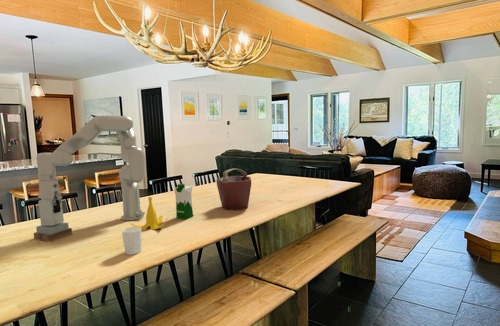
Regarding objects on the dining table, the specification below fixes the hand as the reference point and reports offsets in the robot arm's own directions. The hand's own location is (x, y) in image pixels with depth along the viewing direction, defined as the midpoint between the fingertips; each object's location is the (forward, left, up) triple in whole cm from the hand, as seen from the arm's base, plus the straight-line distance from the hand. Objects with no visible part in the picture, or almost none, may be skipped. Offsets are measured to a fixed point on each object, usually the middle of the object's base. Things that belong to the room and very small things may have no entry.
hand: (51, 211), depth 168 cm
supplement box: (0, 0, -6) cm, 6 cm away
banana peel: (-36, -28, -13) cm, 47 cm away
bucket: (-61, -82, -13) cm, 103 cm away
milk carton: (-44, -51, -13) cm, 68 cm away
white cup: (-54, +2, -13) cm, 56 cm away
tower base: (0, 0, -13) cm, 13 cm away
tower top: (0, 0, -10) cm, 10 cm away
